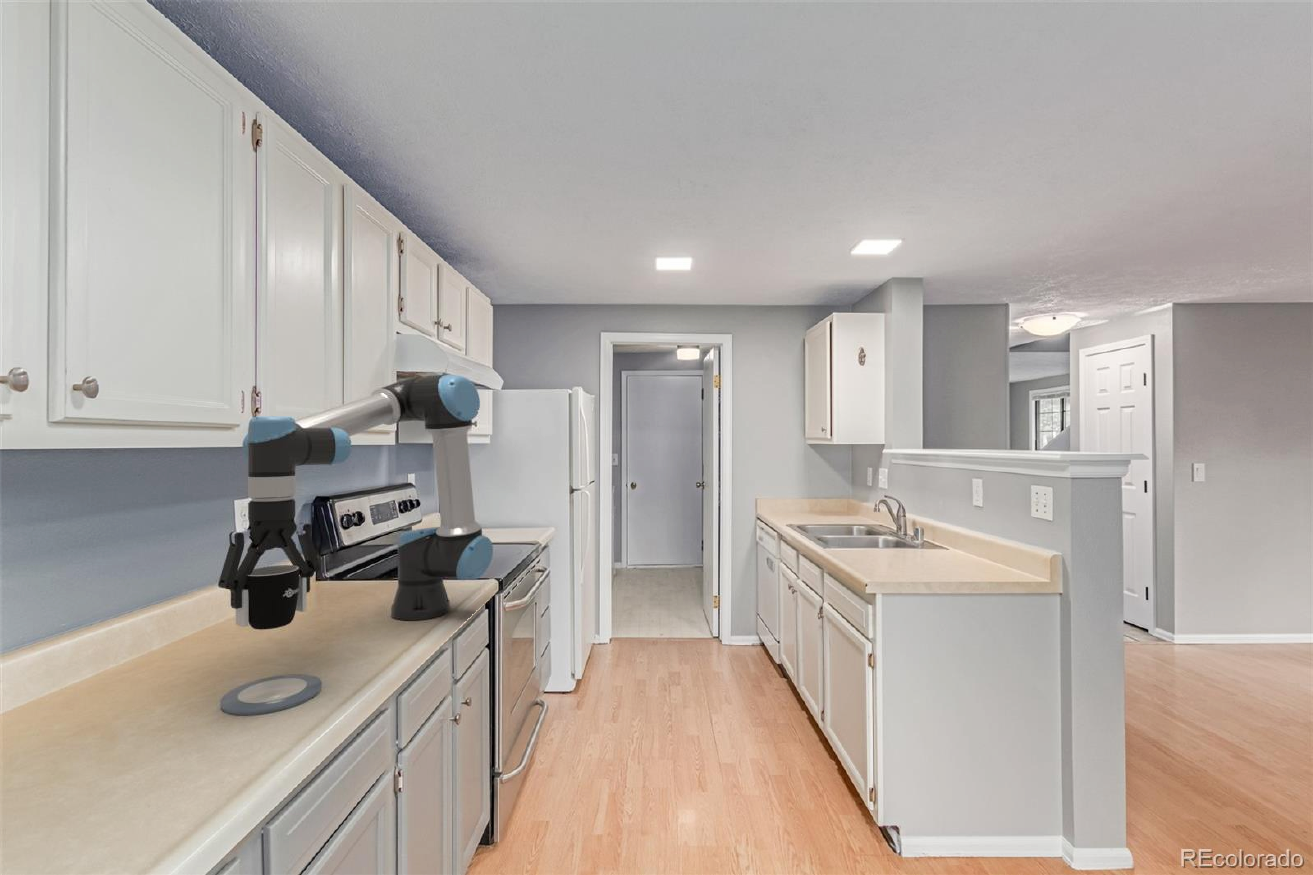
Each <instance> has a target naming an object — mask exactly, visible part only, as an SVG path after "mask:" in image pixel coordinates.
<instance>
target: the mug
mask: <svg viewBox="0 0 1313 875" xmlns="http://www.w3.org/2000/svg"><path fill="white" fill-rule="evenodd" d="M299 576H300V575H299V567H298V566H293V565H292V564H291V565H289V564H288V565H287V564H283V565H280V564H279V565H277V564H276V565H268V566H267V565H266V566H261V567H256V568H254V570H253V571H252V573H251V575H247V582H246V584H245V586H244V588H243V589H247V590H248V625H249V626H250V627H251V628H252V629H254V630H259V631H260V630H262V631H263V630H265V631H266V630H273V629H278V628H282V627H285V626H287V625H289V624H291V623H292V621H293V620H294V617H295V614H296V606H297V600H298V591H299Z"/></svg>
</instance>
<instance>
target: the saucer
mask: <svg viewBox="0 0 1313 875" xmlns="http://www.w3.org/2000/svg"><path fill="white" fill-rule="evenodd" d="M322 684H323V683H322V680H321V679H320V678H319V677H317V676H315V675H311V674H302V673H300V674H299V673H298V674H297V673H296V674H295V673H293V674H282V675H276V676H270V677H265V678H261V679H258V680H253V681H250V682H247V683H245V684H243V685H238V686H237V687H235V688H233V689H232V690H229V691H228V692H227V693H225V694H224V695H223V696H222V697H221V700H220V710H221V711H223V713H226V714H229V715H232V716H259V715H267V714H272V713H275V712H281V711H285V710H288V709H291V708H293V707H296V706H300V705H302V704H304V703H307V702H308V701H307V700H309V701H310V700H312V699H313V698H312V697H314V696H315V697H317V696H318V693H319V694H320V692H321V691H322V689H321V688H322V687H323V686H322ZM319 691H320V692H319ZM315 697H314V698H315ZM311 698H312V699H311Z"/></svg>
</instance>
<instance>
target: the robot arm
mask: <svg viewBox="0 0 1313 875" xmlns="http://www.w3.org/2000/svg"><path fill="white" fill-rule="evenodd" d="M480 406H481V401H480V395H479V392H478V389H477V388H476V386H475V384H474V383H472V382H471V379H469V378H467V377H465V376H463V375H455V374H445V375H432V376H431V375H429V376H414V377H413V376H412V377H409V378H405V379H403V380H401V381H398V382H393V383H392V384H389V385H386V386H384V387H380V388H376V389H374V391H372V393H371V394H370V395H369V396H365V397H363V398H359V399H356V400H353V401H349V402H347V403H344V404H340V405H338V406H334V407H331V408H329V409H326V410H323V411H320V412H317V413H313V414H309V415H307V416H305V417H301V418H298V419H296V420H295V418H294V417H292V416H254V417H252V418H250V420H249V422H248V428H247V433H246V435H245V436H244V438H243V441H242V450H243V453H244V454H243V455H245V457H246V458H247V462H248V464H247V470H248V476H247V481H248V482H247V486H248V487H247V491H248V492H247V494H248V498H249V499H252V500H249V502H248V503H247V506H248V507H247V514H248V516H247V518H248V527H247V529H246V530H242V531H230V533H229V535H228V536H229V538H228V539H229V547H228V549H227V554H226V556H225V561H224V564H223V567H222V570H221V574H220V577H219V581H218V585H217V586H218V588H220V589H226V590H229V591H230V607H231V608H232V609H234V610H235V625H236V626H239V627H243V628H245V627H249V621H248V590H247V589H243V588H244V586H245V584H246V582H247V575H251V573H252V571H253V570H254V569H255V567H257V564H258V563H259V560H260V558H261V557H262V556H263V555H264V554H265V552H266V551H271V550H273V549H281V550H283V552H284V553H285V555H286V557H287V558H288V560H289V561H290V563H291V565H293V566H298V567H299V591H298V600H297V606H296V611H297V612H300V613H301V612H302V613H304V612H307V610H308V609H307V607H308V606H307V604H308V603H307V600H308V598H307V593H310V590H311V578H312V577H313V576H314V575H315V573H316V572H319V571H320V570H321V565H320V560H319V558H318V555H317V552H316V548H315V545H314V542H313V537H312V524H310V523H306V522H305V523H304V522H301V523H299V524H298V523H296V522H295V519H296V518H295V517H296V500H295V499H294V498H293V497H295V496H296V495H297V494H296V468H297V467H300V466H321V465H322V466H323V465H325V466H326V465H327V466H332V465H336V464H341V463H344V462H345V461H347V459H348V458H349V457H350V455H351V452H352V440H351V436H355V435H357V434H359V433H363V432H365V431H368V430H370V429H372V428H375V427H378V426H381V425H385V426H390V425H395V424H397V423H401V422H412V421H415V422H418V421H419V422H420V421H422V422H424V429H425V431H427V433H429V434H430V435H431V436H432V445H433V454H434V455H433V456H434V465H435V475H436V486H437V493H438V494H437V495H438V506H439V515H440V516H439V517H440V526H435V527H434V526H433V527H425V528H419V529H411V530H406V531H403V532H401V533H400V534H399V535H398V539H397V540H398V541H397V548H396V549H397V550H396V551H397V589H396V592H395V596H394V599H393V603H392V605H391V608H390V609H391V610H390V611H391V612H390V616H391V618H393V619H396V620H401V621H420V620H427V619H428V620H429V619H434V618H438V617H441V616H444V615H447V614H448V613H449V612H450V610H451V602H450V599H449V597H448V594H447V589H446V588H445V585H444V578H445V579H455V580H460V581H466V580H468V581H469V580H470V581H471V580H472V581H473V580H477V579H479V578H481V577H483V575H484V574H485V573H486V572H487V570H488V569H489V567H490V565H491V563H492V560H493V554H494V545H493V543H492V540H490V538H489V537H488V536H486V535H483V529H482V524H480V523H479V522H477V520H476V518H475V507H474V506H475V505H474V496H473V485H472V475H471V473H472V472H471V464H470V463H471V462H470V452H469V442H468V432H469V430H470V429H471V428H472V427H473V419H475V418H476V417H477V415H478V414H479V410H480V408H481V407H480ZM295 533H296V535H297V539H298V541H299V545H300V549H301V551H302V554H301V553H300V551H299V550H298V548H297V544H296V543H295V541H294V539H293V536H294V534H295ZM247 539H250V541H251V542H250V544H249V546H248V547H247V553H245V554H246V555H244V558H243V560H242V556H243V553H244V549H245V544H246V543H247V542H248V540H247ZM302 555H303V556H302ZM241 560H242V561H241ZM296 611H295V612H296Z"/></svg>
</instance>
